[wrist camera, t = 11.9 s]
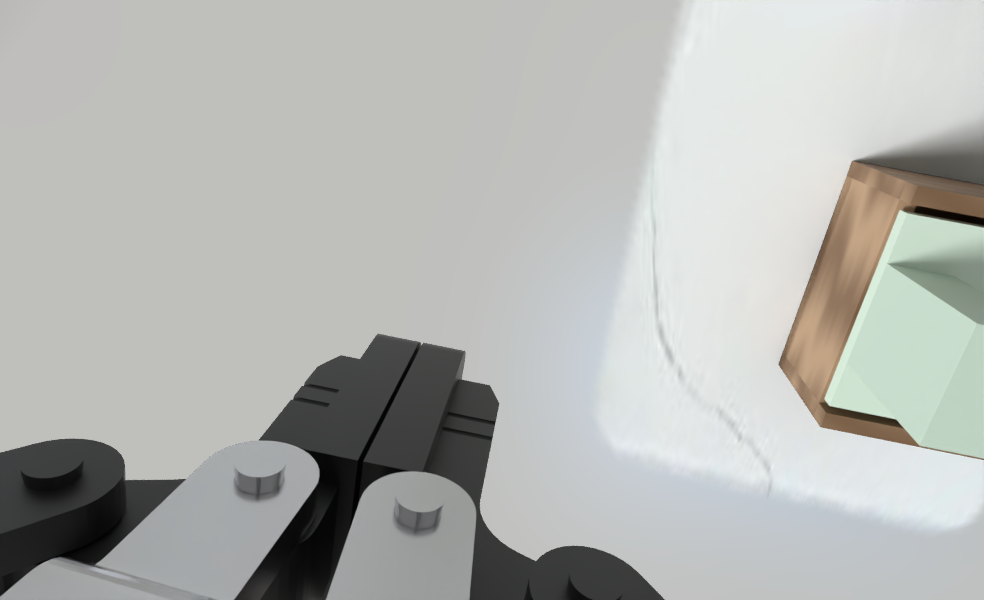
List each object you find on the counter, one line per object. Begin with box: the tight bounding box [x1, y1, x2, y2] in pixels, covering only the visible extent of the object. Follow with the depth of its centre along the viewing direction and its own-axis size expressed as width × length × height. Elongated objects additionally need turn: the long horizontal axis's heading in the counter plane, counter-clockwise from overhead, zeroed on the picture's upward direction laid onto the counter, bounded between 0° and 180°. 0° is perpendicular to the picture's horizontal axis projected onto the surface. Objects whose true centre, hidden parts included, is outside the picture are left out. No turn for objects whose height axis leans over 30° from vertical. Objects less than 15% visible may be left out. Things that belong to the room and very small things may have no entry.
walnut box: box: [778, 161, 984, 460], centre depth 33 cm, size 12×8×7 cm, turn 171°
